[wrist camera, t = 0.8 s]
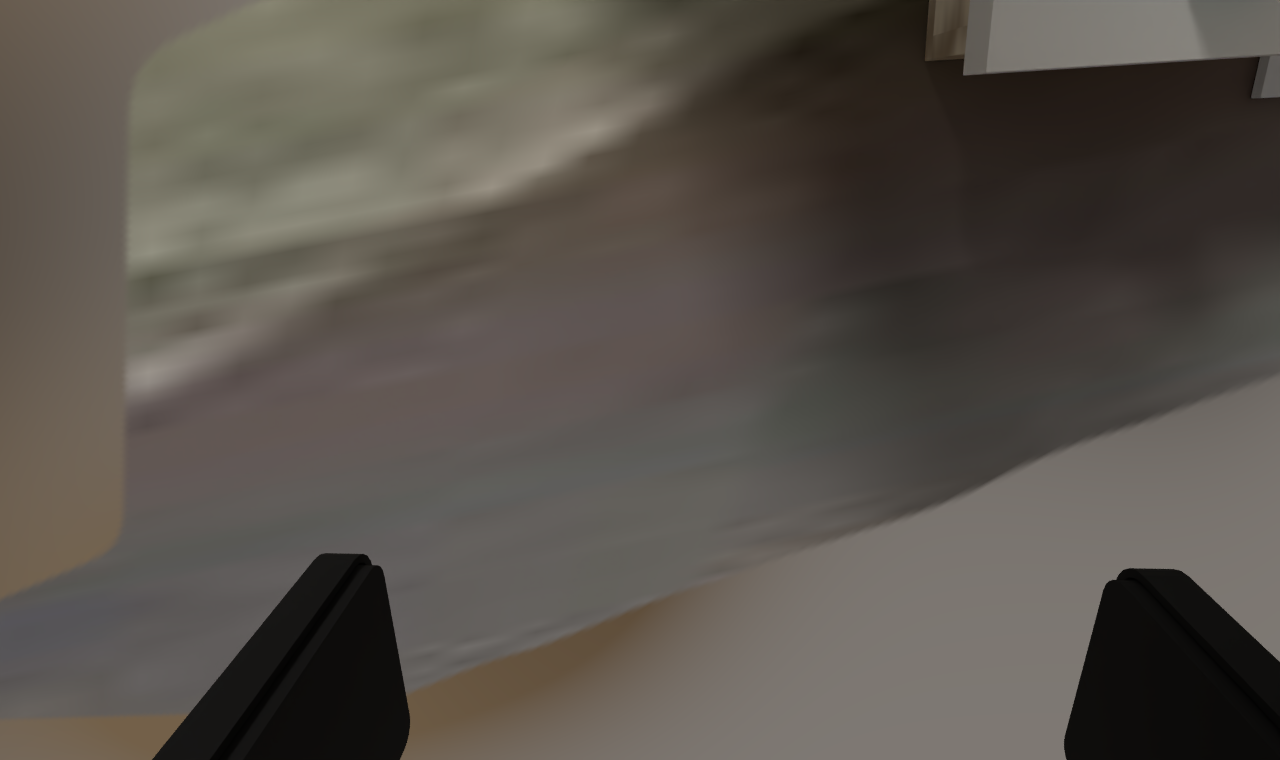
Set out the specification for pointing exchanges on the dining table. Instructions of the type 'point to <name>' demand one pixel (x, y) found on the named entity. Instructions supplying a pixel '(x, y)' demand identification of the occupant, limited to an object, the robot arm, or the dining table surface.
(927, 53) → the crate
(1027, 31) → the lid
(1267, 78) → the mat
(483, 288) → the dining table surface
